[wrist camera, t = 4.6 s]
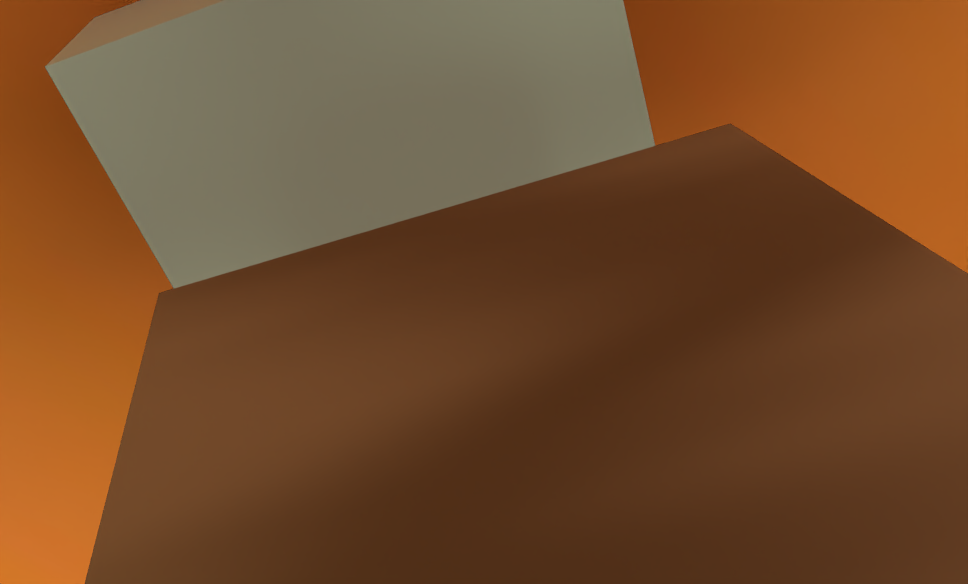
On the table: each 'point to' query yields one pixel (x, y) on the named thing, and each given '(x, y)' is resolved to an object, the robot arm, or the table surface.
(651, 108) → the table surface
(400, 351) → the walnut cube
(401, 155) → the sage block
